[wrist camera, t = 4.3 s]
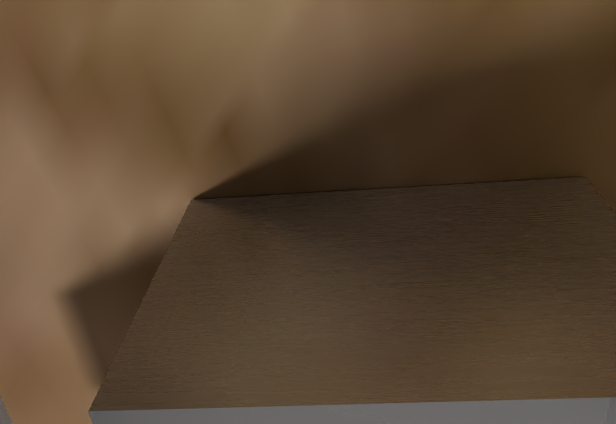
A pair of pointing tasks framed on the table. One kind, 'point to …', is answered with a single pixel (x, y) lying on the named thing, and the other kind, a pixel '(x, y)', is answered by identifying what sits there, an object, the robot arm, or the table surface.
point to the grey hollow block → (378, 310)
